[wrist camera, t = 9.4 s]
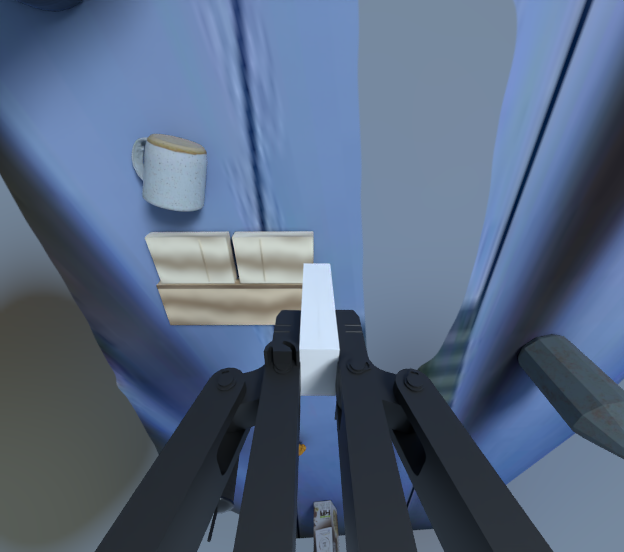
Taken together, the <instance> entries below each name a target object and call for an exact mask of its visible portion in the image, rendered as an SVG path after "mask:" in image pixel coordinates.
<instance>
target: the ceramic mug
mask: <svg viewBox="0 0 624 552" xmlns="http://www.w3.org/2000/svg"><path fill="white" fill-rule="evenodd" d="M144 150H145V152H144ZM143 155H144V164H143ZM132 162H133V166H134V169H135V171H136V173H137V174H138V176H139V177H140V178H141V179H142V180H143V193H142V194H143V198H144V199H145V200H146V201H147V202H149V203H150V204H152V205H155V206H158V207H160V208H164V209H169V210H173V211H182V212H187V211H196V210H199V209H201V208H202V207H203V206H204V197H205V185H206V172H207V153H206V150H205V149H204V148H203V147H202V146H201V145H199V144H197V143H195V142H192V141H189V140H186V139H182V138H178V137H174V136H169V135H164V134H152V135H150V136H149V137H148V138H139V139H138V140H136V142H135V143H134V145H133V149H132Z"/></svg>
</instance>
